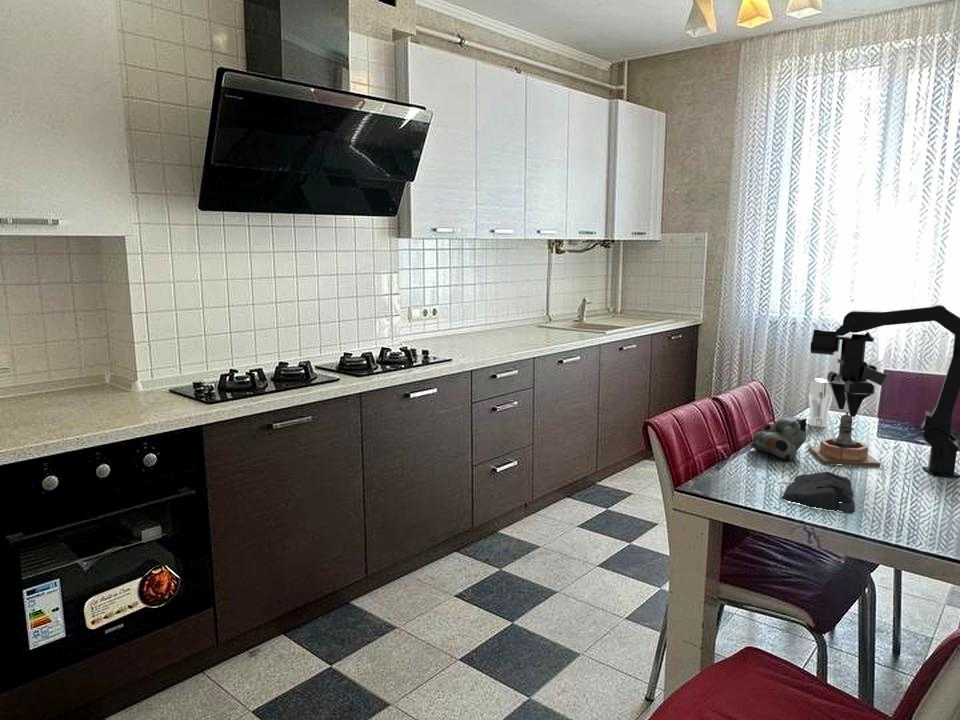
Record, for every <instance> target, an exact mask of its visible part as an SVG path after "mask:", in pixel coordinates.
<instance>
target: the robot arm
mask: <svg viewBox="0 0 960 720" xmlns="http://www.w3.org/2000/svg"><path fill="white" fill-rule="evenodd" d="M926 322H936V323H937V324H939V325H941V326H942V327H943V328H945V329H946V330H948V331H949V332H950V333H951V334H953V335H954V336H953V347H952V357H951V359H950V363H949V366H948V368H947V372H946V375H945V378H944V381H943V384H942V386H941V387H942V388H941V391H940V392H939V396H938V399H937V403H936V406H935V408H934V409H933V410H932V412H930V411H928V410H926V411H925V415H924V416H925V418H924V420H923V422H922V423H921V425H920V426H921V429H920V431H923V433H922V434H923V435H922V437H923V439H924V440H925V442H926V443H927V444H929V445H930V451H929V452H930V453H929V458H928V466H922V469H923V470H924V471H925V472H928V473H929V474H930V475H931V476H936V477H951V478H952V477H953V478H960V473H958V472H956V471H955V469H956V463H957V454H958V451H959V442H958V439H957V438H956V437H955V436H954V435H953V434H952V433H951V429H952V419H953V411H954V408H955V405H956V402H957V399H958V397H959V393H960V317H959V316H958V315H956V314H955V313H954V312H951V310H948V309H947V307H945V306H944V305H943V304H934V305H932V306H921V307H913V308H903V309H893V310H866V309H854V310H852V311H851V310H850V311H849V312H848V313H846V314H845V316H844V318H843V320H842V324H841V325H840V327H837V328H836V330H828V329H827V330H826V329H819V328H815V329H814V330H813V334H812V339H811V340H810V341H811V342H810V354H815V355H828V356H829V355H830V356H834V355H835V353H839V350H840V357H839V358H837V363H839V367H838V368H839V369H838V371H837V370H831V371H829V372H828V373H827V376H826V377H827V378H826V379H827V380H828V381H829V385H830V387H831V389H832V392H833V398H835V402H836V406H837V407H838V409H839V410H844V408H845V405H846V406H847V409H848V413H849V416H851V417H852V418H855V417H856V416H857V414H858V412H859V410H860V407H861V405H862V403H863V401H864V400H865V399H866V398H868V397H871V396H872V395H874V394H875V388H876V387H875V385H874V384H873V383H875V384H877V385H879V386H883V383H884V382H885V380H886V379H887V376H888V375H887V374H886V373H884V372H881V371H878V370H877V369H878V368H877V366H875V365H872V364H870V363H869V364H868V363H867V361H865V355H866V346H867V343H869V342H870V343H872V342H873V343H874V341H875V338H874V337H873V336H872V335H871V333H870V332H869V330H872V329H876V328H879V327H884V326H895V325H902V324H903V325H904V324H913V323H915V324H916V323H926ZM864 331H866V333H864V334H862V333H863V332H864ZM861 332H862V333H861ZM850 333H852V334H851V336H845V335H847V334H850ZM858 333H859V334H858ZM860 333H861V334H860ZM840 343H841V349H840ZM872 382H873V383H872Z"/></svg>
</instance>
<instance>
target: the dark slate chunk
mask: <svg viewBox="0 0 960 720" xmlns="http://www.w3.org/2000/svg"><path fill="white" fill-rule="evenodd" d="M794 478H795V479H794ZM794 478H793V479H794V481H795V482H793V483H792V482H791V483H792V484H791V485H787V487H786V489H785V491H784V493H783V494H782V496H781V497H782V499H785V500H787V501H791V502H796V503H800V504H803V505H806V506H809V507H816V508H822V509H826V510H834V511H837V510H839V511H844V512H843V513H846V512H849V513H848V514H853V513H854V512H855V509H856V506H855V504H856V503H855V501H854V491H853V488H852V482H851V480H850V479H849V478H848V477H845V476H841V475H839V474H835V473H833V472H829V471H822V472H814V473H807V474H799V475H795V477H794ZM839 502H842V503H839ZM852 512H853V513H852Z"/></svg>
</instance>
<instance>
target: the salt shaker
mask: <svg viewBox="0 0 960 720" xmlns="http://www.w3.org/2000/svg"><path fill="white" fill-rule="evenodd" d="M852 427H853V417H851V416H850V413H849V411H846V413H845V414H843V415H841V417H840V422H839V426H838V427H837V428H838V429H839V430H838V435H837V437H836V439H833V440H832V441H833V442H834V443H833V444H834V446H837V447H841V448H854V447H855V444H856V442H855V441H856V440H853V439H852V432H853V430H854V429H853V428H852Z"/></svg>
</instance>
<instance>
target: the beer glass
mask: <svg viewBox="0 0 960 720" xmlns="http://www.w3.org/2000/svg"><path fill="white" fill-rule="evenodd" d="M833 397H834V394H833V392H832V389H831V387H830V385H829V381H828V380H827V378H826V379H824V378H812V379H811V380H810V384H809V391H808V401H809V402H808V404H809V418H808V422H807V425H808V424H809V425H808V426H810V427H815V428H828V427H829V418H828V417H829V411H830V408H831V404H832V400H833Z"/></svg>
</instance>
